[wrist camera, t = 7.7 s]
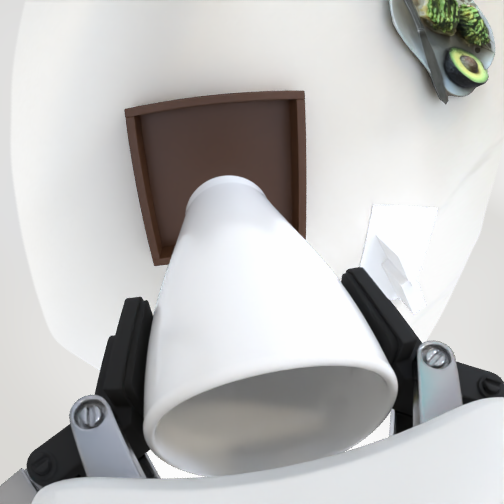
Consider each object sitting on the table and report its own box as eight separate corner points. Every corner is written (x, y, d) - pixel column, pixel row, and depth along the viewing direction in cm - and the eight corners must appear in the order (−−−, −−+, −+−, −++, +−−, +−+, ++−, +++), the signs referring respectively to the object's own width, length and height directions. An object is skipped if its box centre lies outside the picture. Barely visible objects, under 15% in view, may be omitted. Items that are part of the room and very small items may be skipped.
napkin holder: (411, 297, 42) (430, 319, 37) (349, 306, 41) (366, 333, 36) (438, 206, 35) (465, 224, 30) (371, 204, 33) (397, 224, 29)
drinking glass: (213, 275, 22) (237, 491, 9) (153, 200, 18) (81, 425, 5) (296, 225, 21) (413, 419, 8) (245, 140, 17) (371, 290, 4)
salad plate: (339, -4, 21) (359, -15, 17) (411, -62, 16) (432, -71, 12) (444, 118, 29) (469, 125, 25) (495, 46, 24) (517, 48, 20)
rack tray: (132, 107, 25) (124, 109, 22) (294, 91, 26) (304, 90, 24) (157, 251, 32) (154, 266, 30) (297, 234, 34) (305, 247, 31)
